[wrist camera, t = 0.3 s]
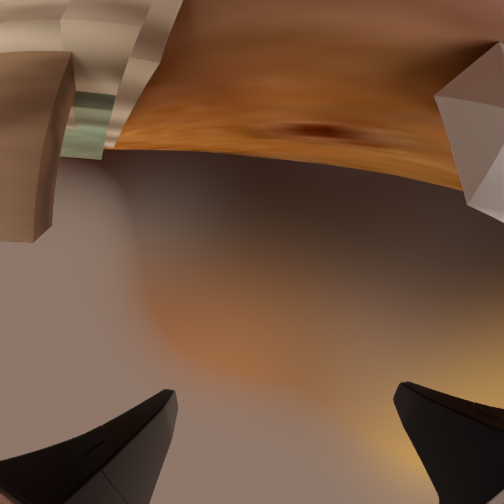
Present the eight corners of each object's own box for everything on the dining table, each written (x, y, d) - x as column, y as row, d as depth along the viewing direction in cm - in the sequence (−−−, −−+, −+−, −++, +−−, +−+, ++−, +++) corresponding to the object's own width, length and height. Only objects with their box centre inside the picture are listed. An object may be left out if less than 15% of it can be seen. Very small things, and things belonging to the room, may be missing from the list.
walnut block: (-36, 58, 4) (-72, 237, 5) (72, 51, 8) (33, 242, 9) (-8, 90, 9) (-31, 222, 10) (75, 90, 13) (51, 225, 14)
